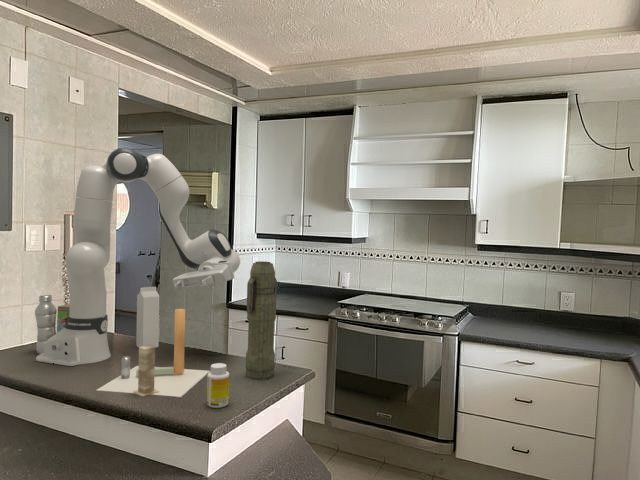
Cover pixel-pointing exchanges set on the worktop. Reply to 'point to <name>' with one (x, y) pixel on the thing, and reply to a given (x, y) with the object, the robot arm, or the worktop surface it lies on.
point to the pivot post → (125, 367)
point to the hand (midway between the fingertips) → (189, 285)
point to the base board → (159, 382)
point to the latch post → (146, 371)
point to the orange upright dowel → (176, 346)
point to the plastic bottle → (45, 321)
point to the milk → (147, 317)
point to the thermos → (261, 321)
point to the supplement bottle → (218, 386)
